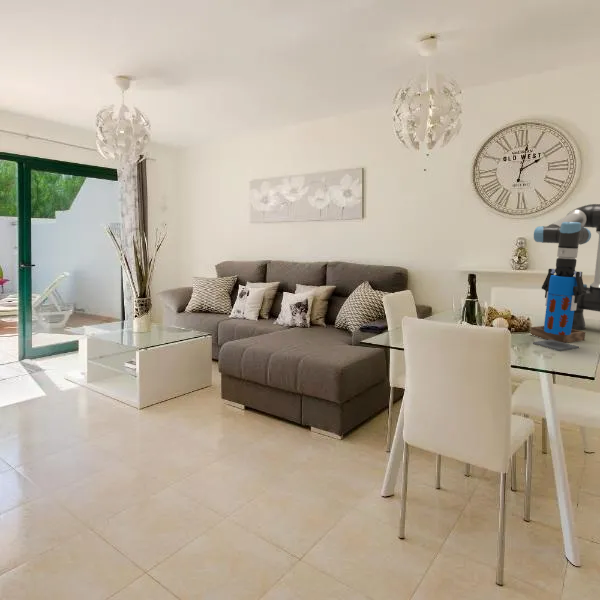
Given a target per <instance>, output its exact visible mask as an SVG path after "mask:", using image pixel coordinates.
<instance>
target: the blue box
mask: <svg viewBox="0 0 600 600" xmlns="http://www.w3.org/2000/svg"><path fill="white" fill-rule="evenodd" d="M573 286H575V287H576V286H577V282H576V276H575V275H573V277H564V276H556V274H554V275H551V277H550V281H549V290H548V298H547V306H546V307H545V315H544V323H543V324H544V325H543V326H544V331H545V332H547V333H551V334H557V335H570V334H571V329H572V324H573V316H574V311H571V303H572V295H574V293H573Z"/></svg>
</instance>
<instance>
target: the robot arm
mask: <svg viewBox="0 0 600 600" xmlns="http://www.w3.org/2000/svg"><path fill="white" fill-rule="evenodd" d="M588 228H592V229H593V228H595V232H596V233H597V234H598V243H597V250H596V251H597V253H596V261H595V269H594V279H593V282H591V284H590V285H589V286H588V285H587V284H586V283H584V281H583V271H577V270H576V267H577V259H576V258H578V253H579V245H580V246H581V245H584V244H587V243H588V242H589V241H590V240H591V239H592V233H591V231H590V229H588ZM533 240H534V241H535V242H536V243H543V244H557V245H558V246H557V247H558V248H557V255H556V257H558V258H556V262H555V268H549V269H548V270H547V275H546V277H545V280H544V282H543V284H542V286H541V290H543V291H545V294H544V299H545V306H547V298H548V290H549V281H550V277H551V275H556V276H564V277H573V276H575V277H576V282H577V286H576V287H575V286H573V293H574V295H572V303H571V311H574V316H573V324H572V329H574V330H579V331H581V330H586V321H585V317H584V310H586V311H593V312H594V311H595V312H600V204H597V203H593V204H591V203H590V204H585V205H582V206H580V207H577V208H575V209H572V210H570V211H568V213H567V214H566V215H565V216H564V217H561V218H560V219H558V220H556V221H553V222H552V223H551V224H548V225H547V226H545V225H542V226H541V225H540V226H536V228H535V229H534V231H533Z"/></svg>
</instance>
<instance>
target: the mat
mask: <svg viewBox="0 0 600 600" xmlns="http://www.w3.org/2000/svg"><path fill="white" fill-rule="evenodd" d="M532 344H533V345H536V344H537V345H536V346H539V345H540V347H543V346H544V347H543V348H547V347H548V348H547V349H550V348H551V349H550V350H554V349H555V351H557V352H564V350H565V351H569V350H570V351H571V350H576V349H580V346H578V345H575V344H571V343H563V342H559V341H555V340H547V339H544V340H539V341H538V340H537V341H533V342H532Z"/></svg>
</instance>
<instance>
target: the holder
mask: <svg viewBox="0 0 600 600" xmlns="http://www.w3.org/2000/svg"><path fill="white" fill-rule="evenodd" d="M530 334H532V335H535V336H538V337H537V338H539V337H541V338H540V339H543V338H544V340H547V339H548V340H555V341H559V342H563V343H567V342H569V343H574V342H575V341H576V342H581V340H582V341H585V340H586V331H582V330H578V329H571V334H570V335H557V334H551V333H547V332H545V331H544V325H538V326H532V327H530ZM530 334H529V335H530ZM532 335H531V336H532ZM535 336H534V337H535ZM576 342H575V343H576ZM567 344H568V343H567Z"/></svg>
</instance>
